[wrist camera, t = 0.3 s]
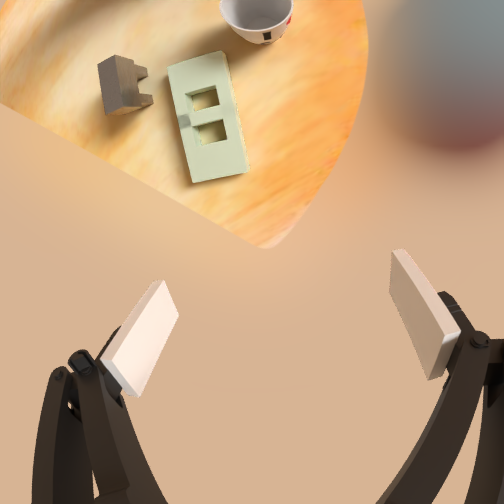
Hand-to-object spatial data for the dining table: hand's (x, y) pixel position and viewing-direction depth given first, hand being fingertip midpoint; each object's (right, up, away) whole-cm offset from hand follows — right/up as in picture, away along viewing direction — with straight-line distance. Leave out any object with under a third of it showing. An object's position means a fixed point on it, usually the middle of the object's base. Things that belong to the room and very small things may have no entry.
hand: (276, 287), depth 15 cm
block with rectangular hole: (-7, +22, +21) cm, 31 cm away
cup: (0, +34, +14) cm, 36 cm away
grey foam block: (-19, +27, +19) cm, 38 cm away
